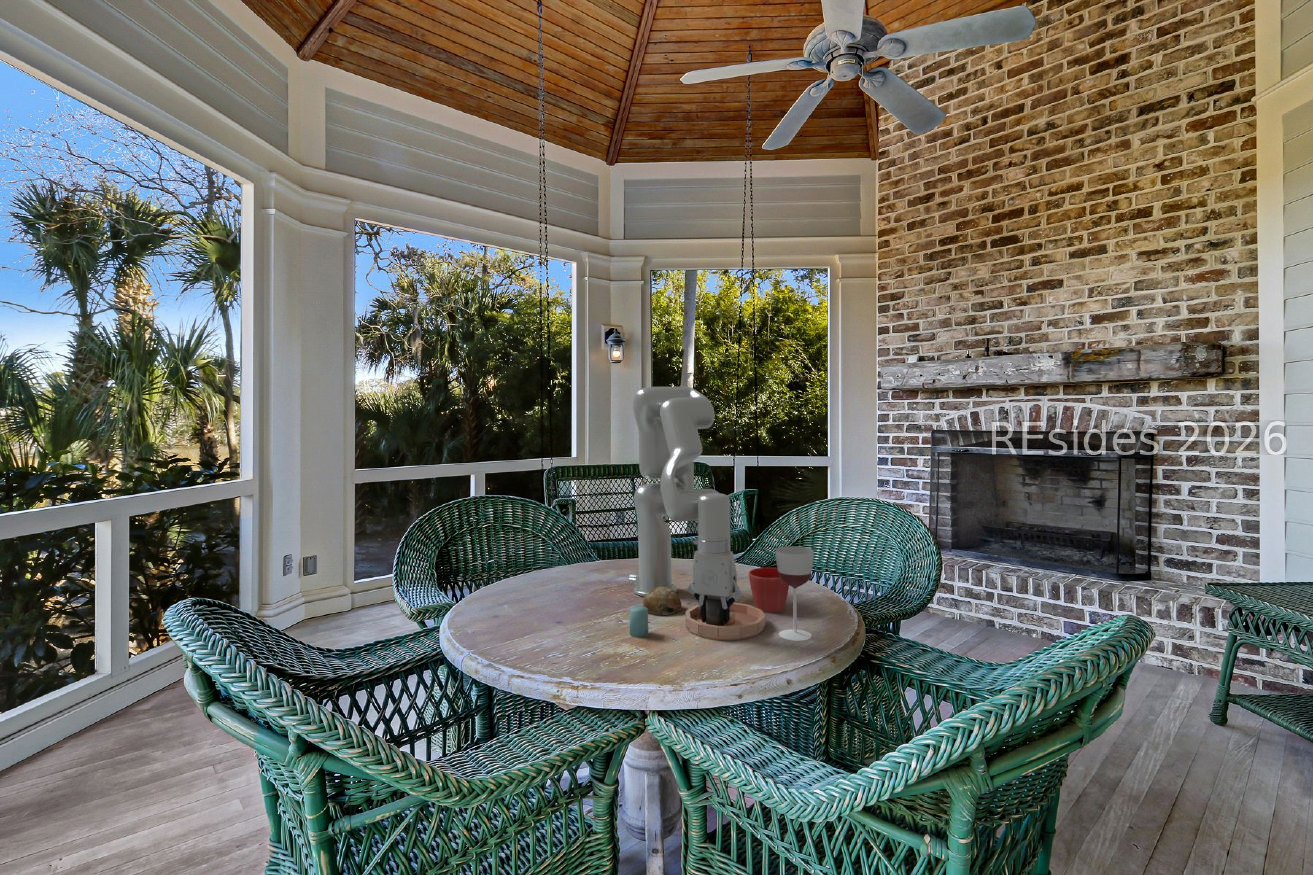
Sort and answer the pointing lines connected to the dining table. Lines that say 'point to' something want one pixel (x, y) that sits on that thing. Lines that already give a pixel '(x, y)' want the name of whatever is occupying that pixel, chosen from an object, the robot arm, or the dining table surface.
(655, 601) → the bread roll
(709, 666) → the dining table surface
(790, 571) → the wineglass
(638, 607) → the teal capsule
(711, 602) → the bead
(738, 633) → the groove dish
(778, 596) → the flower pot
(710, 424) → the robot arm
